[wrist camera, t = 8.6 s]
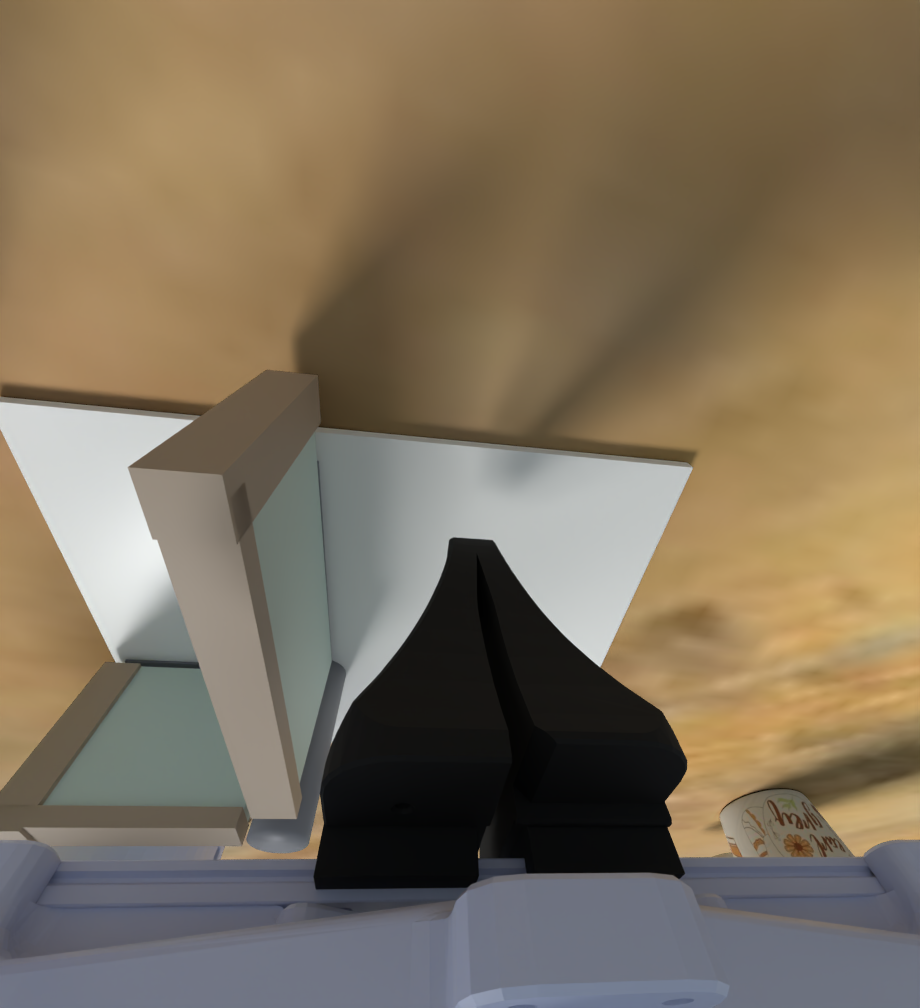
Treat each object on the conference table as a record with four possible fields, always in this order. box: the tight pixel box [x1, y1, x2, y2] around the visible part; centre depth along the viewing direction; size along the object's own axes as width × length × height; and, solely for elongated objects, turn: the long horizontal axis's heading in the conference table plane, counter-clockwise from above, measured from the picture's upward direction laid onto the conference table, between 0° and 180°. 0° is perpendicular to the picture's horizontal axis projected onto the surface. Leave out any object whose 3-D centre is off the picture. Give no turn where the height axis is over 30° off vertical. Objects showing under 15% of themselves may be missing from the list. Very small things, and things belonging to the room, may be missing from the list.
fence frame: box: [0, 660, 346, 853], centre depth 16 cm, size 2×10×7 cm, turn 83°
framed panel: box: [128, 370, 332, 819], centre depth 12 cm, size 12×1×6 cm, turn 173°
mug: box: [714, 789, 855, 857], centre depth 26 cm, size 8×13×10 cm, turn 142°
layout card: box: [0, 397, 693, 743], centre depth 18 cm, size 18×22×1 cm
